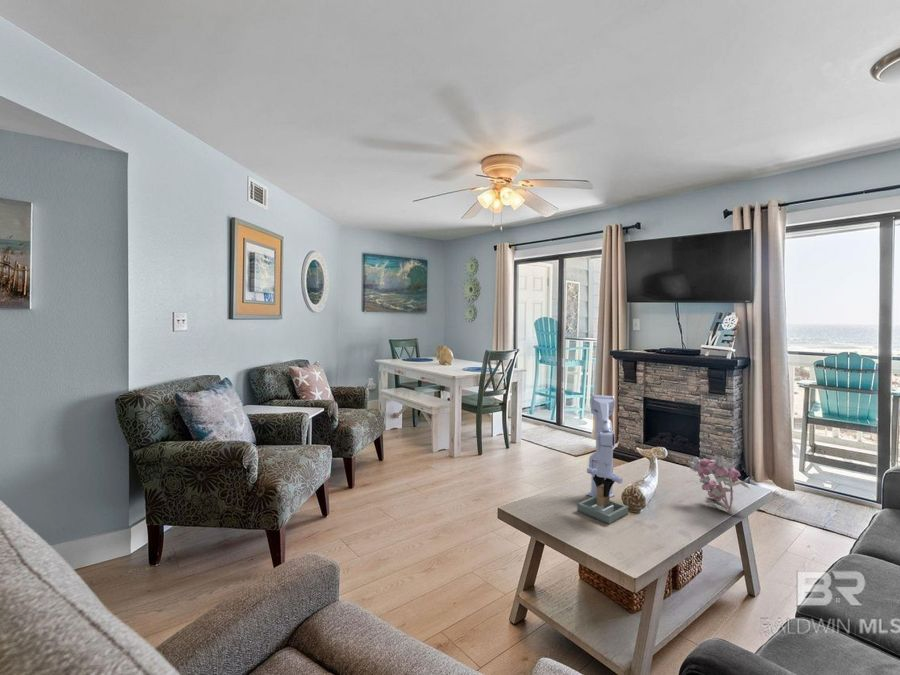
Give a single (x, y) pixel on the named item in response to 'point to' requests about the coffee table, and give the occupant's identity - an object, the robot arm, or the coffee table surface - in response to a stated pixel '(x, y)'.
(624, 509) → the slotted divider tray
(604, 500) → the wood block
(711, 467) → the flower
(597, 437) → the robot arm
